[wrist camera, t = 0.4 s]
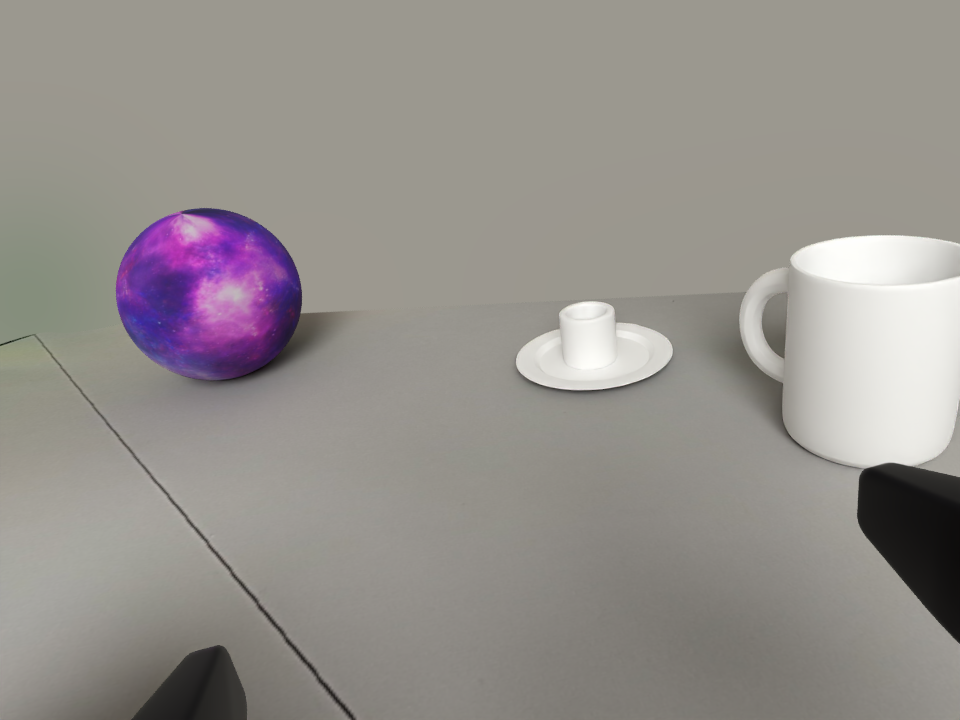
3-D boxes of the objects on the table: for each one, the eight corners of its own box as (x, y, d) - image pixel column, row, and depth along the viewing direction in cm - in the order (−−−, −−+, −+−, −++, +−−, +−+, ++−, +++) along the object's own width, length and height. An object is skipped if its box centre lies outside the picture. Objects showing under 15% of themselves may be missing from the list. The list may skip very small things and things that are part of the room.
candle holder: (625, 319, 56) (622, 273, 54) (705, 371, 45) (705, 315, 43) (497, 352, 54) (490, 305, 52) (550, 415, 43) (543, 358, 41)
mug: (699, 412, 40) (698, 257, 36) (778, 367, 44) (786, 221, 40) (900, 496, 31) (931, 298, 27) (980, 429, 35) (1018, 246, 30)
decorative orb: (130, 427, 51) (50, 249, 45) (180, 356, 65) (124, 211, 59) (313, 389, 53) (260, 210, 46) (325, 327, 66) (285, 182, 60)
